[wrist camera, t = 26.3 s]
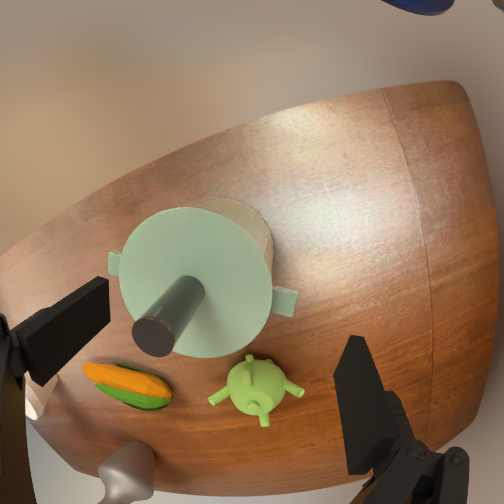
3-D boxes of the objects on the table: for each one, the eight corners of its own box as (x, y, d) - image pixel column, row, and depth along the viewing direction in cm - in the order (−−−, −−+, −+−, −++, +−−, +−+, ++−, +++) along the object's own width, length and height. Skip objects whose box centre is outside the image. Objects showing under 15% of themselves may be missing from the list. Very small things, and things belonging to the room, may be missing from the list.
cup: (62, 396, 55) (36, 426, 42) (31, 366, 54) (3, 392, 41) (69, 377, 51) (39, 410, 38) (35, 343, 50) (1, 370, 37)
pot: (165, 188, 37) (106, 197, 23) (302, 212, 36) (314, 235, 22) (157, 278, 41) (106, 322, 27) (281, 305, 40) (279, 368, 26)
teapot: (247, 335, 42) (239, 368, 34) (307, 367, 43) (310, 403, 34) (213, 377, 45) (202, 411, 37) (268, 405, 46) (265, 439, 38)
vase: (172, 448, 54) (141, 527, 30) (162, 467, 58) (135, 534, 34) (120, 423, 53) (76, 494, 29) (116, 445, 57) (81, 507, 33)
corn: (166, 426, 40) (76, 393, 42) (178, 400, 48) (94, 374, 49) (163, 397, 39) (68, 363, 40) (177, 372, 46) (88, 346, 48)
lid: (129, 195, 24) (62, 208, 15) (288, 223, 23) (292, 252, 14) (125, 330, 28) (80, 379, 19) (256, 365, 27) (245, 433, 18)
